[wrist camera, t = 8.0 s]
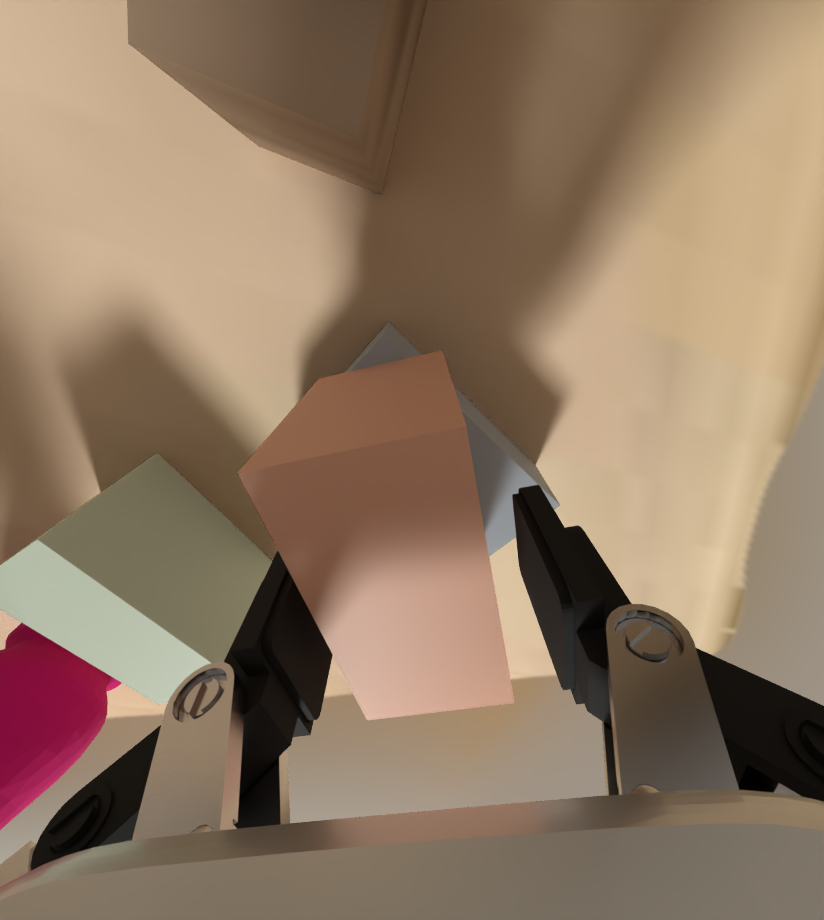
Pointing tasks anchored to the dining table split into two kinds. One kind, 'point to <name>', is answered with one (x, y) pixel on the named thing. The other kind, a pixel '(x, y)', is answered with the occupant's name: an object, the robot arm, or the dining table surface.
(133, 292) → the dining table surface
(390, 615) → the terracotta brick
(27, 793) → the pepper mill
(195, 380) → the dining table surface
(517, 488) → the slate brick
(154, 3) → the walnut brick
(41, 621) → the sage brick
